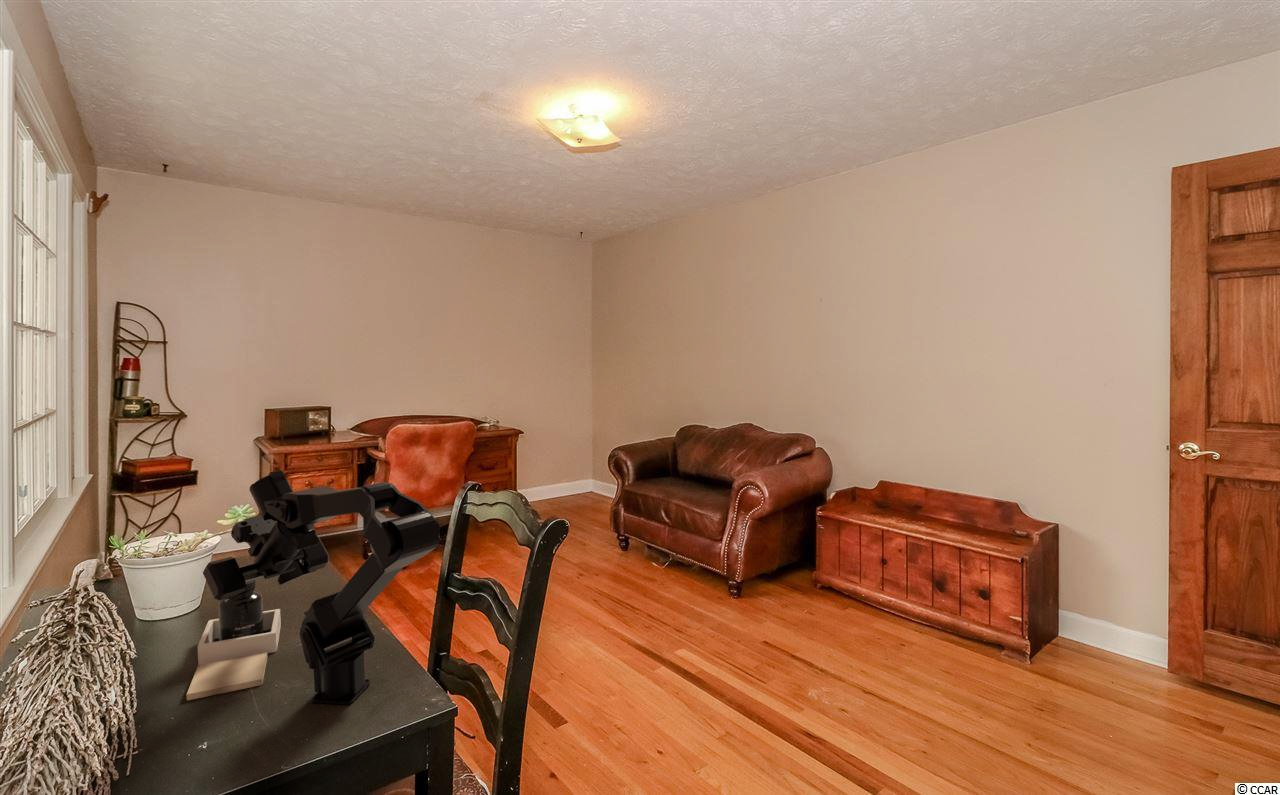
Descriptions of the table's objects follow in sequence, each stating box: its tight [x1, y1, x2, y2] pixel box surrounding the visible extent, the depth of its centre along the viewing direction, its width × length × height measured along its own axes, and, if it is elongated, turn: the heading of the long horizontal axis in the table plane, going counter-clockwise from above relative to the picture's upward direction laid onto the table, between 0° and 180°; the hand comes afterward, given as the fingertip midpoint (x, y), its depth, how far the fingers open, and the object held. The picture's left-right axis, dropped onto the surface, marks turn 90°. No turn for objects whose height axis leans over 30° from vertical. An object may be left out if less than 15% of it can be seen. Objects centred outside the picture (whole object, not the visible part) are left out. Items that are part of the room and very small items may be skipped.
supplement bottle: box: [218, 579, 264, 641], centre depth 113 cm, size 7×7×12 cm
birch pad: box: [186, 652, 268, 701], centre depth 102 cm, size 10×10×1 cm
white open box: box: [197, 608, 282, 666], centre depth 114 cm, size 12×12×4 cm
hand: (253, 590), depth 110 cm, fingers open, 9 cm apart
